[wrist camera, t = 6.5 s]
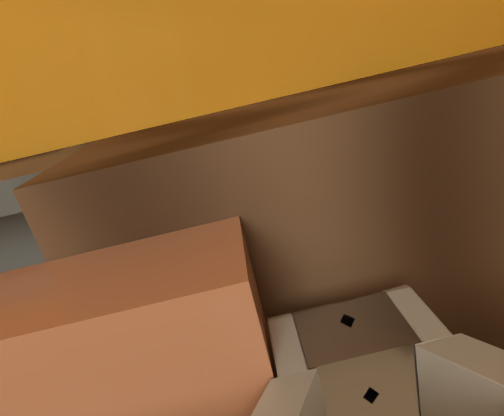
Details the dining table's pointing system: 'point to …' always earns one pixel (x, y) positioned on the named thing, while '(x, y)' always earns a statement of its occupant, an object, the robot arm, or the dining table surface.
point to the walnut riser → (316, 190)
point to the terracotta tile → (137, 330)
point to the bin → (10, 214)
